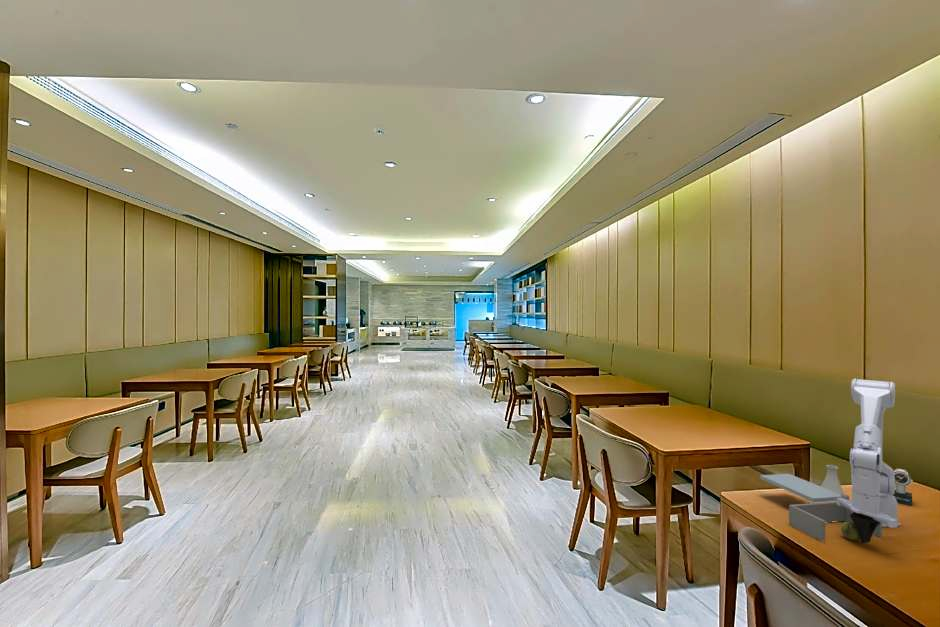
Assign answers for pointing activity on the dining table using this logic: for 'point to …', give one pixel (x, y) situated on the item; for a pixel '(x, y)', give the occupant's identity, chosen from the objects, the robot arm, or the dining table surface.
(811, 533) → the grey angular open frame
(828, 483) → the flask
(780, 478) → the cover
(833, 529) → the dining table surface
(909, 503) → the watch
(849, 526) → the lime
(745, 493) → the dining table surface
